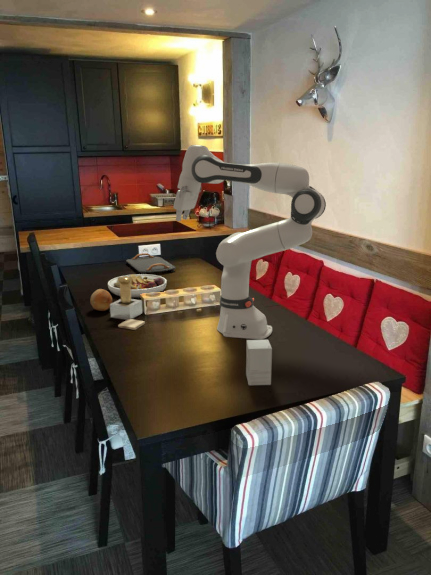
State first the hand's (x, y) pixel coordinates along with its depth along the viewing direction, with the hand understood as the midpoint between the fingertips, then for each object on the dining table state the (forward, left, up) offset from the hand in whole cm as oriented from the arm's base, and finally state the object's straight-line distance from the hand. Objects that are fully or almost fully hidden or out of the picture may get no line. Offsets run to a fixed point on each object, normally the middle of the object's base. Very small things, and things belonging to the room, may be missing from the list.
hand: (181, 219), depth 196 cm
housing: (+26, +4, -43) cm, 51 cm away
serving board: (+61, -76, -44) cm, 107 cm away
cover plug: (+26, +4, -43) cm, 51 cm away
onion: (+40, +3, -44) cm, 59 cm away
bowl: (+42, -31, -44) cm, 69 cm away
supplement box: (-47, +40, -44) cm, 75 cm away
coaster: (+17, +14, -43) cm, 49 cm away
